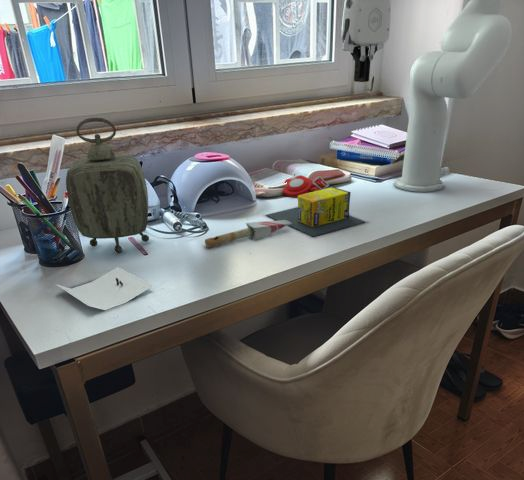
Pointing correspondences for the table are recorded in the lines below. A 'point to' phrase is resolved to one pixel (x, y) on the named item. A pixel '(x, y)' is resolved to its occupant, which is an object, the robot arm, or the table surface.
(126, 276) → the folded paper
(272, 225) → the paintbrush
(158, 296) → the table surface
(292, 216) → the mat
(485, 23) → the robot arm
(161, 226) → the table surface
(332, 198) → the supplement box
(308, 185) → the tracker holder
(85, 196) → the tabletop clock
